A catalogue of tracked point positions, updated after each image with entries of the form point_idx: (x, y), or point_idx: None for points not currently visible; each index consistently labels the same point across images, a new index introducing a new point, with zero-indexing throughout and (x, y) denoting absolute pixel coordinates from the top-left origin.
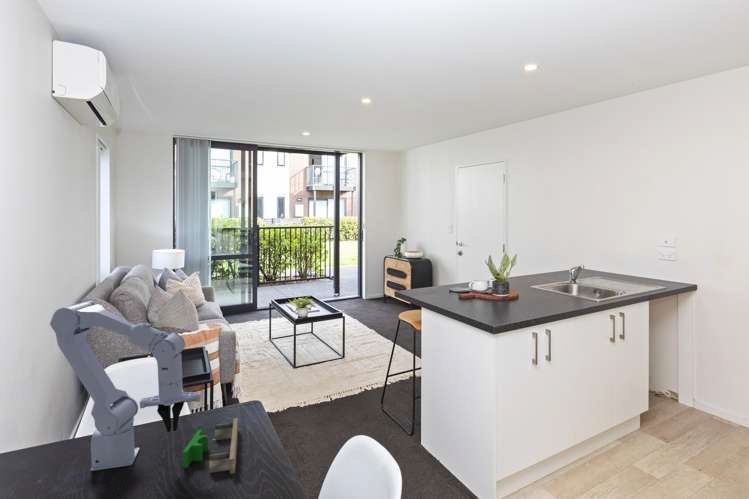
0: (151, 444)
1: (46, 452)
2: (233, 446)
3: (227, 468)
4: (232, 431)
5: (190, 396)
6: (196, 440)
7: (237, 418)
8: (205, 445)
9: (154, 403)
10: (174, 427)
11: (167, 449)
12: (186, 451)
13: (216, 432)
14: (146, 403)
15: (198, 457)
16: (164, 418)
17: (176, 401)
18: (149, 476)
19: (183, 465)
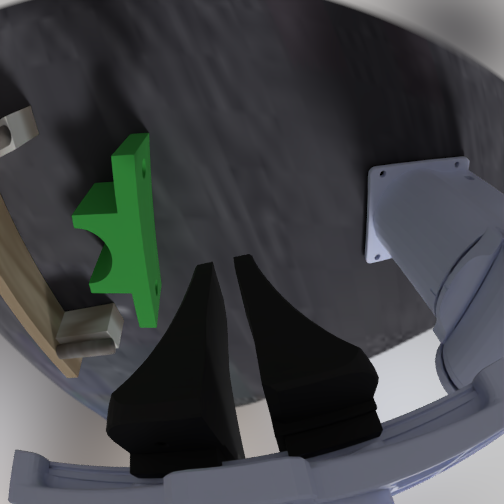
0: (333, 284)
1: None
2: None
3: None
4: (24, 312)
5: None
6: (116, 255)
7: (66, 375)
8: (105, 257)
9: (433, 439)
10: (200, 276)
11: (269, 258)
12: (116, 161)
13: (104, 325)
14: (489, 411)
15: (103, 188)
16: (282, 317)
17: (150, 501)
18: (275, 82)
19: (145, 136)
